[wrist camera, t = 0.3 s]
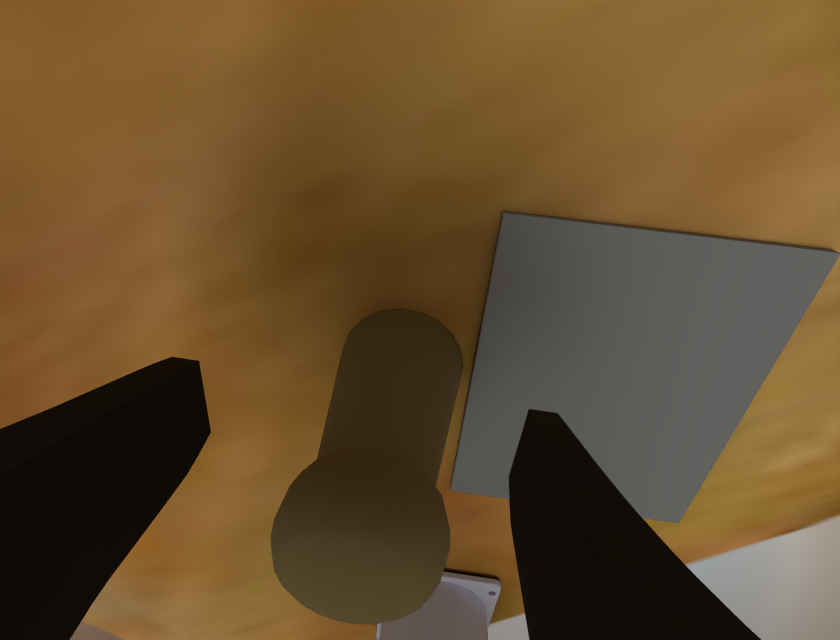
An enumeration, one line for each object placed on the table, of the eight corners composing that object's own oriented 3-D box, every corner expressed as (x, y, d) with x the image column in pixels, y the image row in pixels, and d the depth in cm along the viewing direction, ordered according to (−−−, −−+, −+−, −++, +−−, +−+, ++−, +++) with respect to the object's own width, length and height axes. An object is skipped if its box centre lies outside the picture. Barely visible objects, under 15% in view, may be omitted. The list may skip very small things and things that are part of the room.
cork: (317, 349, 20) (188, 568, 11) (413, 285, 18) (359, 483, 9) (393, 427, 22) (340, 673, 13) (486, 377, 20) (510, 624, 11)
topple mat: (675, 516, 24) (678, 522, 23) (450, 485, 24) (450, 490, 24) (832, 249, 16) (840, 253, 16) (502, 210, 17) (503, 213, 16)
